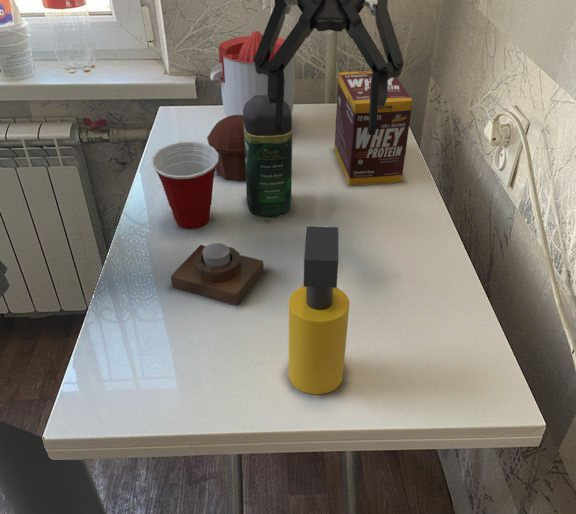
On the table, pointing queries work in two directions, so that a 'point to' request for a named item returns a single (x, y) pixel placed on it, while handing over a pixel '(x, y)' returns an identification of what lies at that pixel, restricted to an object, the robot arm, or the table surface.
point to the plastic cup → (187, 180)
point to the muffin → (229, 147)
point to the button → (216, 255)
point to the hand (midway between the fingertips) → (325, 129)
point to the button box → (218, 277)
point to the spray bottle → (318, 317)
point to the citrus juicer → (247, 73)
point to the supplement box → (355, 130)
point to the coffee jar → (267, 158)
